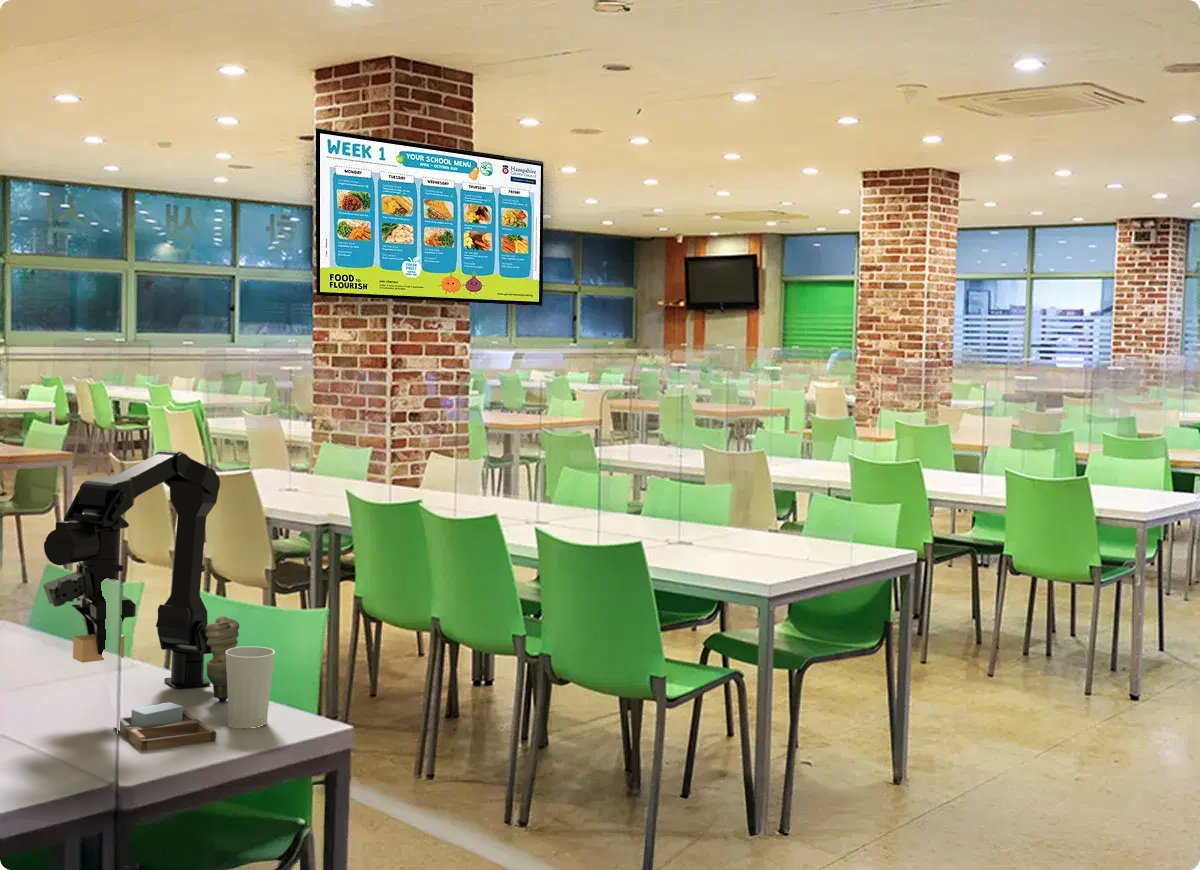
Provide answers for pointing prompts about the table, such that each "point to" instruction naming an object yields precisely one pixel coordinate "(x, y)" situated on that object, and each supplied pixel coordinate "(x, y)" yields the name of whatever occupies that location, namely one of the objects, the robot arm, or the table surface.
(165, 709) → the slate bar
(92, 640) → the terracotta bar
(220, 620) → the light bulb
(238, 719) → the cup
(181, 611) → the robot arm
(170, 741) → the divided wooden tray
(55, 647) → the table surface
